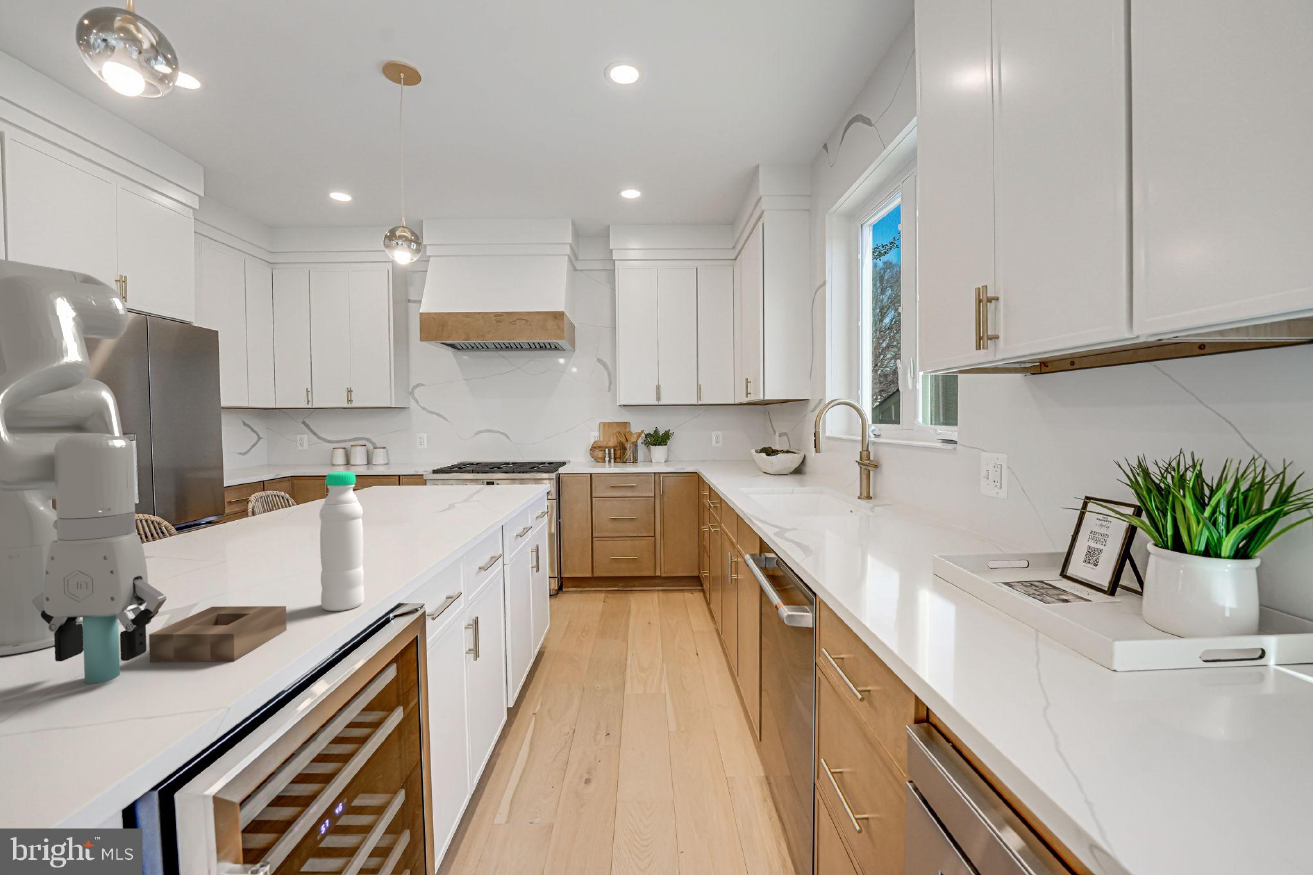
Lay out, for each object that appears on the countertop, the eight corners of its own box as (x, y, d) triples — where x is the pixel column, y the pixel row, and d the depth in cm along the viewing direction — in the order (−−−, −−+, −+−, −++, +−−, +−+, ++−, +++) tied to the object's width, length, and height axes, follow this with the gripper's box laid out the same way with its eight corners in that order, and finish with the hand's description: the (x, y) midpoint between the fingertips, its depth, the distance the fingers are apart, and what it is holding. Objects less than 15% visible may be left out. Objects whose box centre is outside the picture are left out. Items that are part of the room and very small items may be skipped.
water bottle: (345, 613, 102) (343, 475, 101) (311, 610, 103) (309, 474, 102) (372, 601, 109) (370, 471, 108) (340, 598, 110) (338, 470, 109)
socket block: (149, 661, 82) (149, 634, 82) (212, 630, 94) (212, 606, 94) (234, 661, 82) (233, 633, 82) (286, 629, 94) (286, 606, 94)
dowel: (77, 683, 75) (74, 601, 75) (101, 672, 78) (99, 593, 78) (103, 683, 75) (100, 601, 75) (126, 672, 78) (124, 593, 78)
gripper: (-1, 533, 72) (4, 669, 73) (139, 533, 72) (143, 668, 73) (59, 522, 80) (64, 646, 80) (186, 522, 80) (189, 645, 81)
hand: (101, 656), depth 77 cm, fingers open, 7 cm apart
